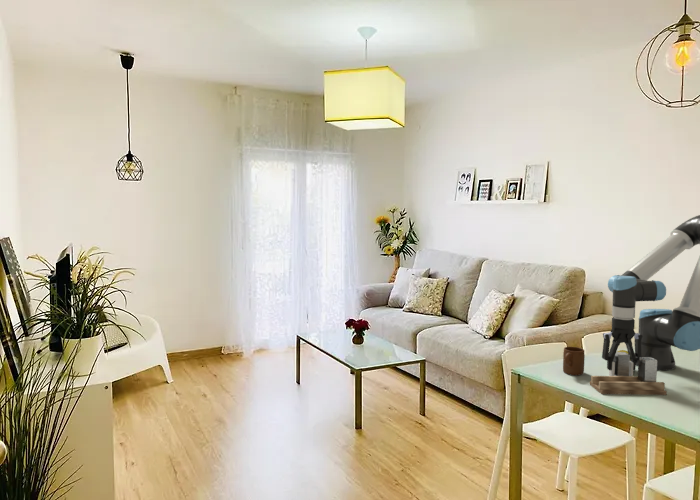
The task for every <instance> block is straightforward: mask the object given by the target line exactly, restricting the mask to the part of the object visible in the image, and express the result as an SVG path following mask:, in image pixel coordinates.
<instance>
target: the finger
mask: <svg viewBox="0 0 700 500" xmlns="http://www.w3.org/2000/svg"><path fill="white" fill-rule="evenodd" d="M657 374H658V370H657V360H656V359H654V358H652V357H640V360H638V366H637V376H638V380H639V382H657V377H658V376H657Z"/></svg>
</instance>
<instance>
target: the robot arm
mask: <svg viewBox="0 0 700 500" xmlns="http://www.w3.org/2000/svg"><path fill="white" fill-rule="evenodd" d="M697 245H700V214H698V215H695V216H693V217H691V218H689V219H687V220H685V221H684V222H682V223H681V224H679V225H677V227H675V228H674V229H673V230H672V231H671V232H670V236H668V237H667V238H666V239H664V240H663V241H662V242H661V243H659V244H658V245H657V246H656V247H655V248H653V249H651V251H649V253H647V254H646V255H645V256H643V257H642V258H641V259H640V260H639V261H637V262H636V263H635V264H634V265H632V266H631V267H630V268H628V269H627V270H626V271H625V272H623V273H622V274H618V275H616V274H615V275H612V276H611V277H609V279H608V281H607V288H608V290H609V291H610V292H611V293H612V304H611V305H612V308H611V309H612V310H611V316H612V317H611V329H610V332H603V333H602V337H603V346H602V352H601V353H602V354H601V358H602V359H603V360H605V361H606V362H607V363H606V369H607V370H608V376H614V374H615V362H613V359H614V357H615V354H616V352H617V351H618V347H619V346H620V345H621V344H623V343H624V344H625V347H626V349H627V350H626V351H628V354H629V355H630V360H631V361H630V365H629V376H634V371H636V367H638V360H640V357H652V358H654V359H656V360H657V371H670V370H674V369H675V368H676V360H675V357H674V353H673V350H672V347H674V348H677V349H680V350H681V351H682V350H683V351H687V352H695V351H696V352H697V351H698V350H700V255H699V257H698V259H697V262H696V263H695V266H694V269H693V271H692V274H691V277H690V279H689V282H688V284H687V286H686V289H685V292H684V293H683V297H682V299H681V301H680V304H679V306H678V307H675V308H673V310H672V309H669V308H667V309H666V308H646V309H641V310H640V311H639V317H638V332H637V333H636V332H635V322H636V321H635V319H634V318H636V303H637V302H656V301H657V302H658V301H661V300H662V301H663V300H664V299H665V297H666V296H667V287H666V285H665V284H664V282H662V281H661V280H654V279H653V280H649V279H651V278H652V277H653V276H654V275H656V273H658V272H660V270H661V269H663V268H665V266H666V265H668V264H669V263H671V262H672V261H673V260H674V259H676V258H677V257H678V256H679V255H680V254H681V253H683V252H684V251H686V250H691V249H692V248H693V247H694V246H697ZM612 338H613V339H612ZM611 339H612V343H611ZM632 339H634V346H633V342H632ZM610 345H611V346H610Z"/></svg>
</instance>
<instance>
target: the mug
mask: <svg viewBox="0 0 700 500" xmlns="http://www.w3.org/2000/svg"><path fill="white" fill-rule="evenodd" d="M562 353H563V355H562V357H563V358H562V359H563V360H562V370H563V373H565V374H566V373H567V375H570V374H571V375H570V376H582V375H583V374H584V373H585V355H586V354H585V349H584V348H581V347H578V346H566V347H564V348H563V352H562Z"/></svg>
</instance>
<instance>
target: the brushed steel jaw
mask: <svg viewBox="0 0 700 500" xmlns="http://www.w3.org/2000/svg"><path fill="white" fill-rule="evenodd" d="M613 362H615V374H614V376H629V365H630V355H629V354H627V353H626V352H617V351H616V354H615V357H614V359H613Z"/></svg>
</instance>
